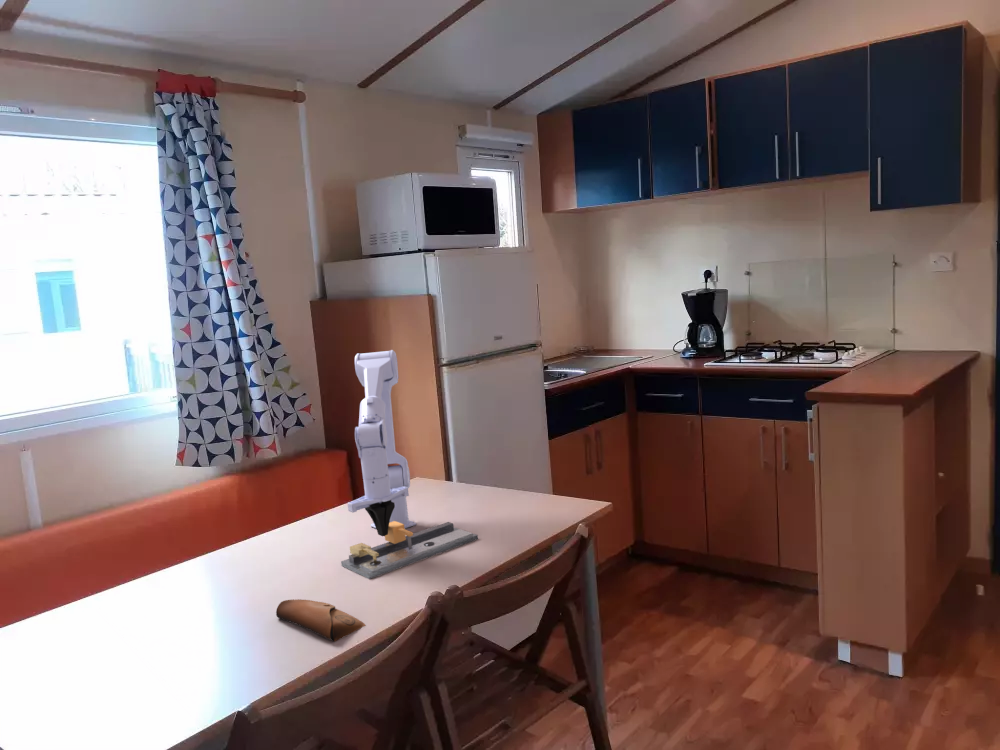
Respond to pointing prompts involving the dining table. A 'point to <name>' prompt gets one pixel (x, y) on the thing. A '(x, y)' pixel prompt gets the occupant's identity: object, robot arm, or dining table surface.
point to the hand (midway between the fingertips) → (383, 534)
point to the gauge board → (405, 550)
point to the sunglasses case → (318, 618)
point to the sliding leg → (398, 533)
